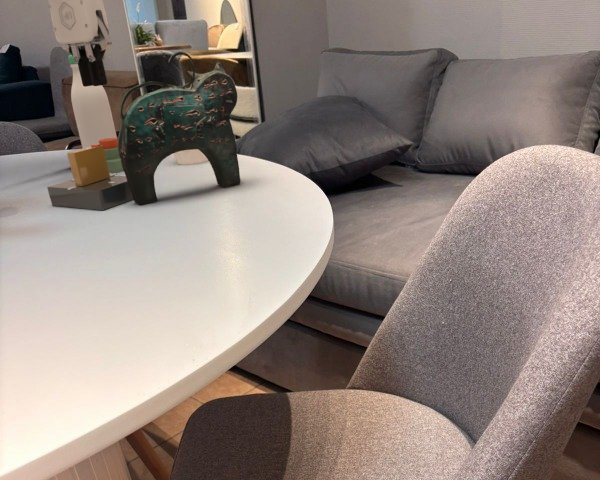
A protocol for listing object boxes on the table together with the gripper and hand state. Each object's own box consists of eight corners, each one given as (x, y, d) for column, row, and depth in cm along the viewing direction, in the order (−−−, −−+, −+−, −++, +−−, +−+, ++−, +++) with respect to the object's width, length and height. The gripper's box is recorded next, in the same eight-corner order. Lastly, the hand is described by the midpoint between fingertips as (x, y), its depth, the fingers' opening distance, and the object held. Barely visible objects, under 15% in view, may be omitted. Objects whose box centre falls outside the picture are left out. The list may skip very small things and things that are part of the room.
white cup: (169, 161, 129) (159, 107, 124) (206, 155, 131) (198, 102, 126) (178, 167, 122) (168, 111, 117) (217, 161, 125) (209, 105, 120)
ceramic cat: (239, 178, 110) (222, 46, 99) (255, 184, 105) (238, 45, 94) (126, 201, 102) (95, 60, 92) (137, 209, 97) (106, 61, 87)
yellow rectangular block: (82, 186, 100) (73, 151, 98) (75, 185, 101) (66, 151, 98) (110, 177, 105) (102, 143, 102) (103, 177, 105) (95, 143, 103)
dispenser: (82, 171, 128) (76, 150, 125) (111, 162, 133) (106, 142, 131) (117, 173, 123) (112, 151, 121) (146, 164, 128) (142, 143, 126)
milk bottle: (125, 154, 141) (103, 51, 130) (91, 161, 137) (66, 56, 127) (113, 150, 146) (91, 52, 136) (80, 157, 143) (55, 56, 133)
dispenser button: (96, 150, 126) (94, 141, 125) (110, 147, 128) (108, 137, 127) (109, 151, 124) (107, 141, 123) (122, 147, 126) (120, 137, 126)
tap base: (49, 206, 104) (43, 186, 102) (96, 191, 111) (91, 172, 109) (100, 211, 98) (94, 190, 96) (146, 194, 105) (142, 175, 103)
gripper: (21, -27, 112) (52, 89, 121) (83, -38, 104) (110, 87, 114) (55, -27, 117) (82, 84, 127) (116, -38, 109) (139, 81, 119)
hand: (95, 84), depth 120 cm, fingers closed
